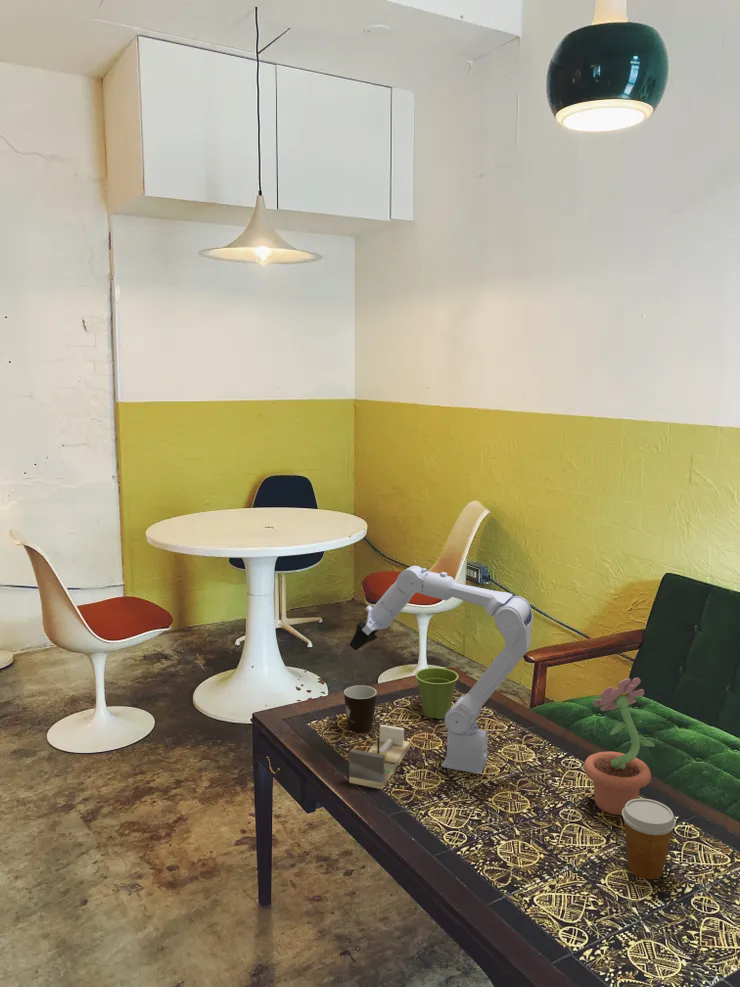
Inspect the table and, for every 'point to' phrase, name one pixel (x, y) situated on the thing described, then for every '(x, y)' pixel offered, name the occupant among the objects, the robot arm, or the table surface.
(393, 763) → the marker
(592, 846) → the table surface
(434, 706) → the plant pot
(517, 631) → the robot arm
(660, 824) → the disposable coffee cup
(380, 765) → the beige l-shaped stand
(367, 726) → the coffee mug
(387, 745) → the white t-shaped block
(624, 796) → the decorative flower
